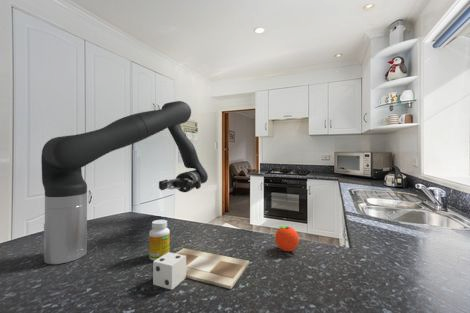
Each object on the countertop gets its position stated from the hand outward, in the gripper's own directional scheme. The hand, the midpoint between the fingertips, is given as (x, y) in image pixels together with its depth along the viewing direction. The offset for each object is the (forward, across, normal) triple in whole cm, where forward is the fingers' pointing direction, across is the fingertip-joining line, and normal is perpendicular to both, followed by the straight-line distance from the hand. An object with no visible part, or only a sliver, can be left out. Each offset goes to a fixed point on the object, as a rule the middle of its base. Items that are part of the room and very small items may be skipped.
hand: (174, 187), depth 71 cm
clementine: (+5, +35, +18) cm, 40 cm away
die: (+23, +6, +18) cm, 29 cm away
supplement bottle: (+11, -1, +18) cm, 21 cm away
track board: (+16, +13, +18) cm, 27 cm away
